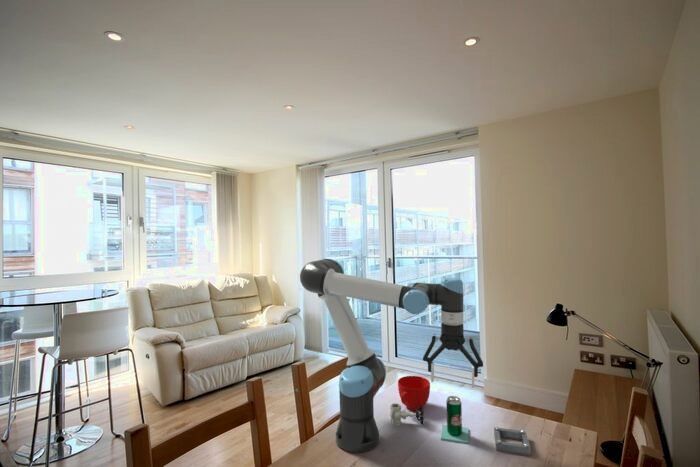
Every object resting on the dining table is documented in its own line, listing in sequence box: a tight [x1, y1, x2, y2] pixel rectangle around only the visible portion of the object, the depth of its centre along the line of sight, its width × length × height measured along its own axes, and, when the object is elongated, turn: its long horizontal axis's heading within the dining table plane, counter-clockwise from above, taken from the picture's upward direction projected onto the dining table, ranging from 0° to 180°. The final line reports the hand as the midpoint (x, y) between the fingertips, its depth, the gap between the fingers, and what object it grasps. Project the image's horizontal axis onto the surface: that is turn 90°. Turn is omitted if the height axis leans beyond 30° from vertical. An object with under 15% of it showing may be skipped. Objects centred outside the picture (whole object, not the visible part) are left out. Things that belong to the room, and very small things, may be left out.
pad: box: [440, 424, 470, 445], centre depth 125 cm, size 9×9×1 cm
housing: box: [493, 426, 532, 457], centre depth 119 cm, size 10×10×3 cm
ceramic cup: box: [397, 375, 431, 411], centre depth 145 cm, size 13×17×10 cm
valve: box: [389, 403, 425, 426], centre depth 134 cm, size 7×7×12 cm
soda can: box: [445, 395, 463, 436], centre depth 125 cm, size 5×5×12 cm
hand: (452, 383), depth 125 cm, fingers open, 13 cm apart
